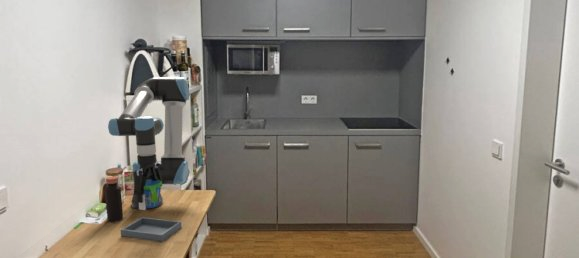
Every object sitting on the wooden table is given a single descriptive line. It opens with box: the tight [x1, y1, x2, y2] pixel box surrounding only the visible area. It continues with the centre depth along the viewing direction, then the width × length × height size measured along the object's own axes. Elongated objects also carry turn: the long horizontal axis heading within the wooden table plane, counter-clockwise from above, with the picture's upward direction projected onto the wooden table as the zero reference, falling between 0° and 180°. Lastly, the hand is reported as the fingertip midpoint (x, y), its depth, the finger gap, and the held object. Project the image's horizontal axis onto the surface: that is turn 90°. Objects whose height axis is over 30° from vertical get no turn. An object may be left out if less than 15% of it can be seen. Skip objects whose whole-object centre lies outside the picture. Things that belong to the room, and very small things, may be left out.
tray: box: [120, 216, 183, 243], centre depth 193 cm, size 15×20×3 cm
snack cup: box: [143, 180, 163, 209], centre depth 190 cm, size 16×10×10 cm
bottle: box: [104, 175, 124, 223], centre depth 207 cm, size 7×7×20 cm
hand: (150, 205), depth 191 cm, fingers closed on snack cup, 10 cm apart
